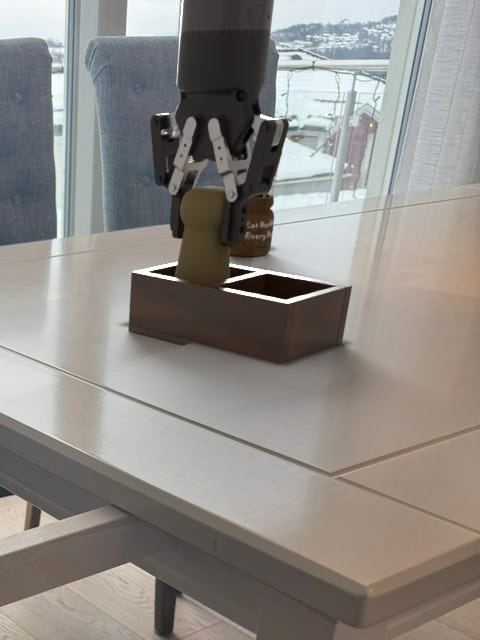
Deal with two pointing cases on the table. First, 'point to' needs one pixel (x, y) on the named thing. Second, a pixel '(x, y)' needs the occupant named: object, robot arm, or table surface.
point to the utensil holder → (257, 227)
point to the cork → (203, 237)
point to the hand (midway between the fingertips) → (205, 240)
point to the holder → (240, 311)
